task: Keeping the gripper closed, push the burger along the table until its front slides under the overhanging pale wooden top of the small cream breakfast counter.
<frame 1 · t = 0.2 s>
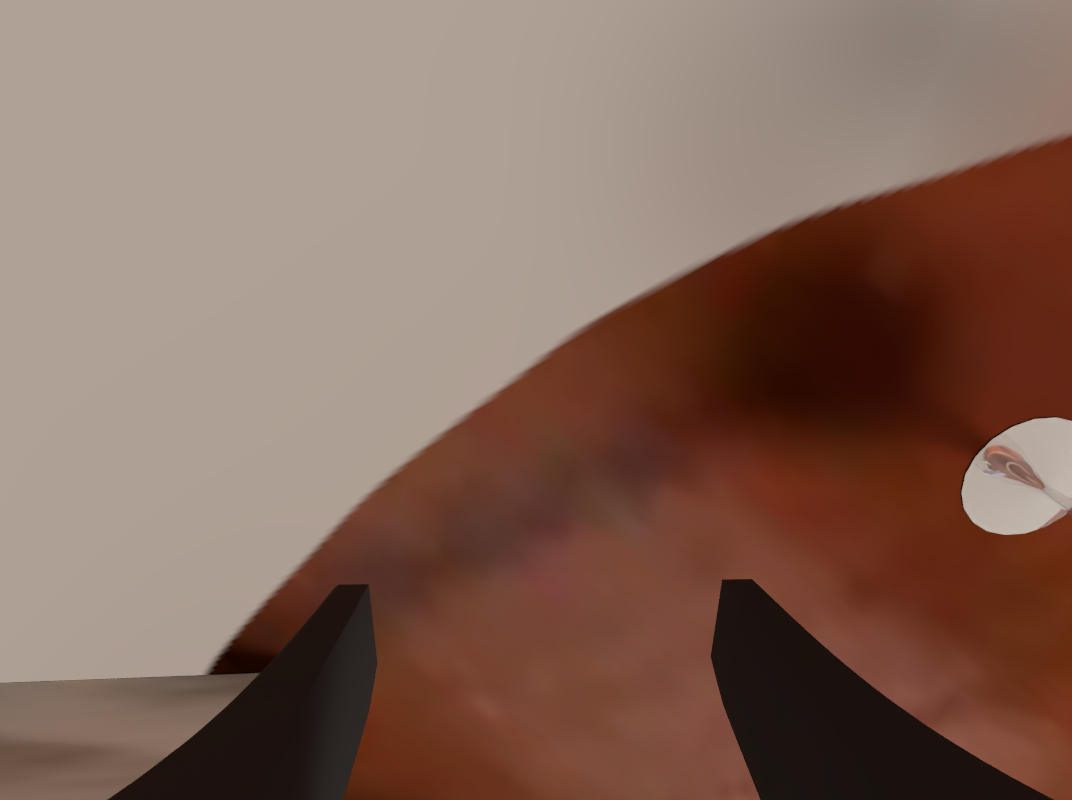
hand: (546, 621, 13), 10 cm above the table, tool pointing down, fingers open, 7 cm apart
wineglass: (1025, 475, 24), on the table
counter: (174, 747, 28), on the table
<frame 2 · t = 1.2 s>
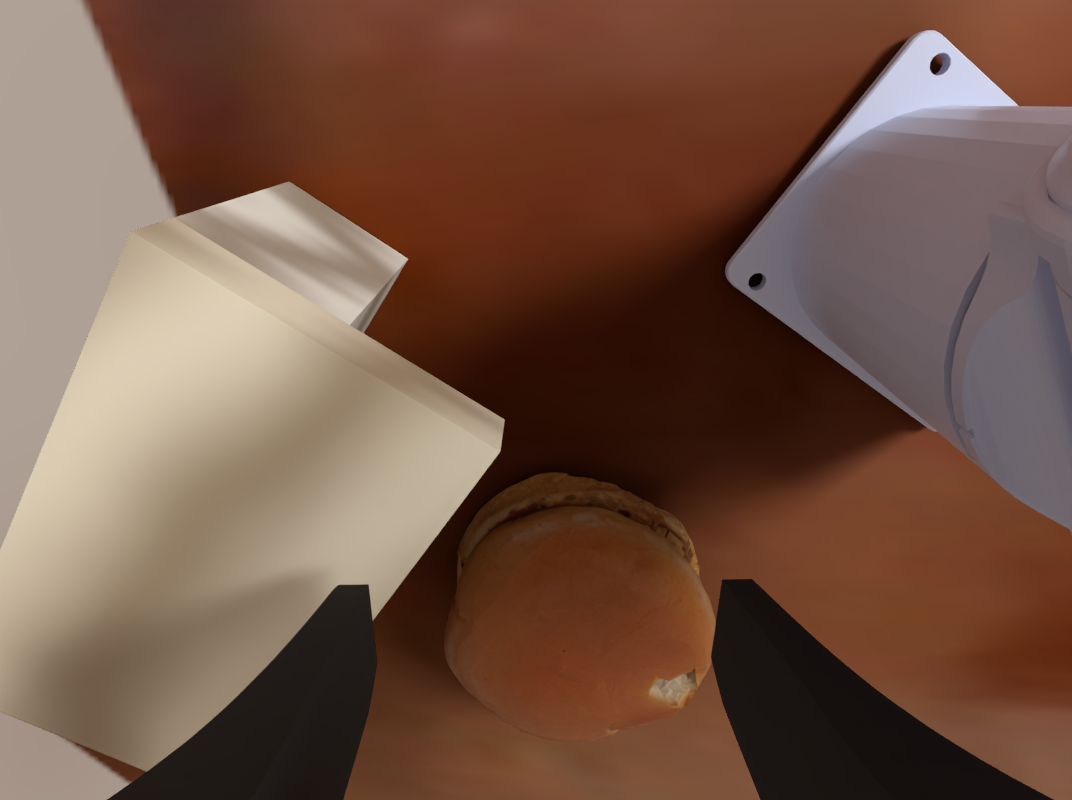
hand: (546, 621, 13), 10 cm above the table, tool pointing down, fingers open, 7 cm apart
burger: (578, 570, 25), on the table
counter: (307, 426, 23), on the table
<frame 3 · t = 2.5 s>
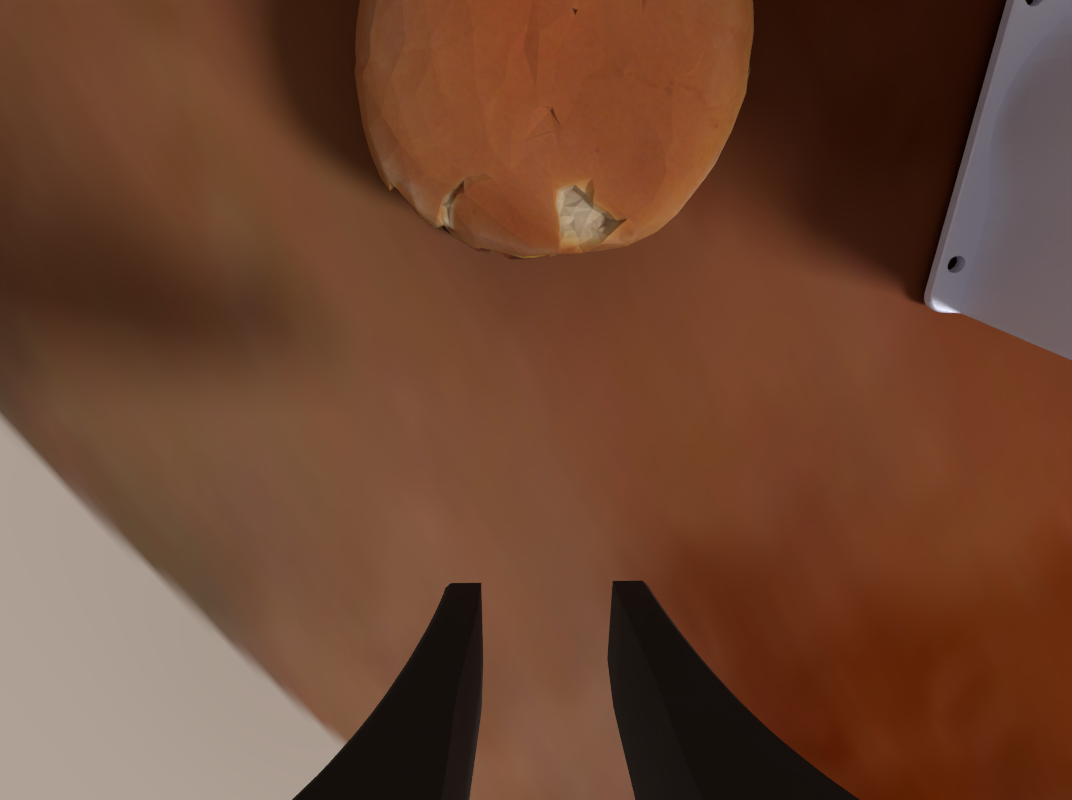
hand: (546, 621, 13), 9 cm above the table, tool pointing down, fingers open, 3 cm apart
burger: (553, 73, 18), on the table
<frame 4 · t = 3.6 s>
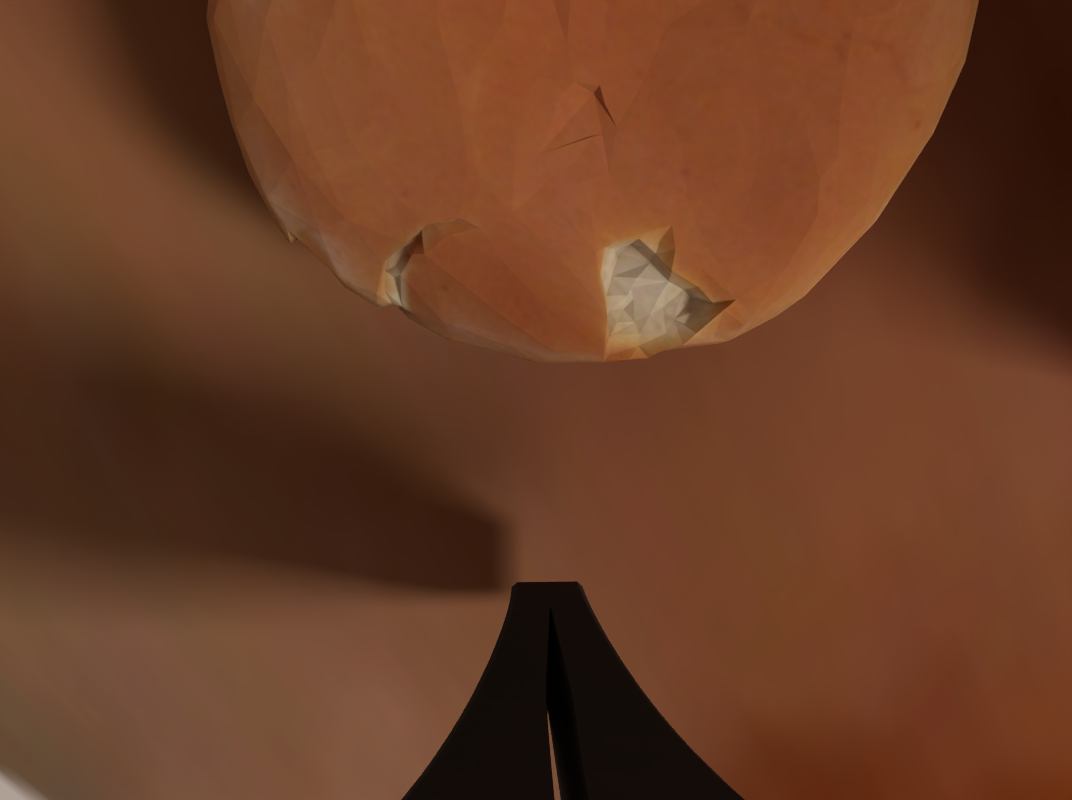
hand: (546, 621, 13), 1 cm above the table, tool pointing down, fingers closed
burger: (584, 37, 11), on the table
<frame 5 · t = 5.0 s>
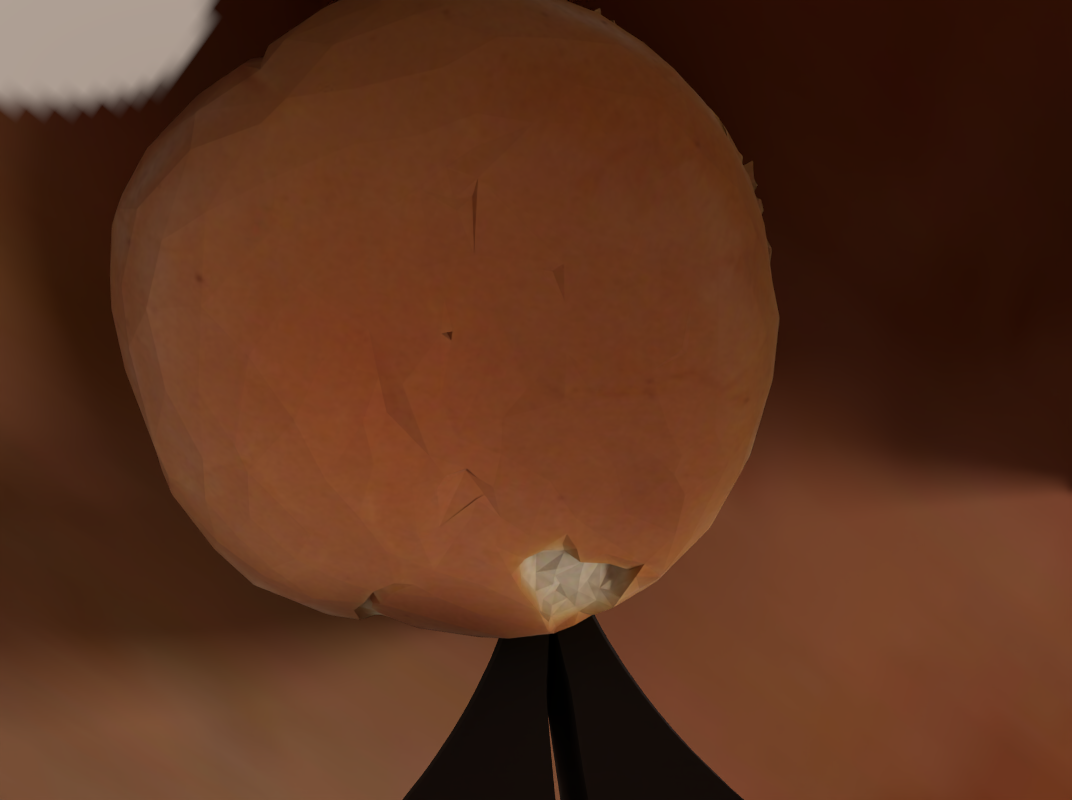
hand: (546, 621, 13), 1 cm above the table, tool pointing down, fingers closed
burger: (479, 306, 12), on the table, touching gripper
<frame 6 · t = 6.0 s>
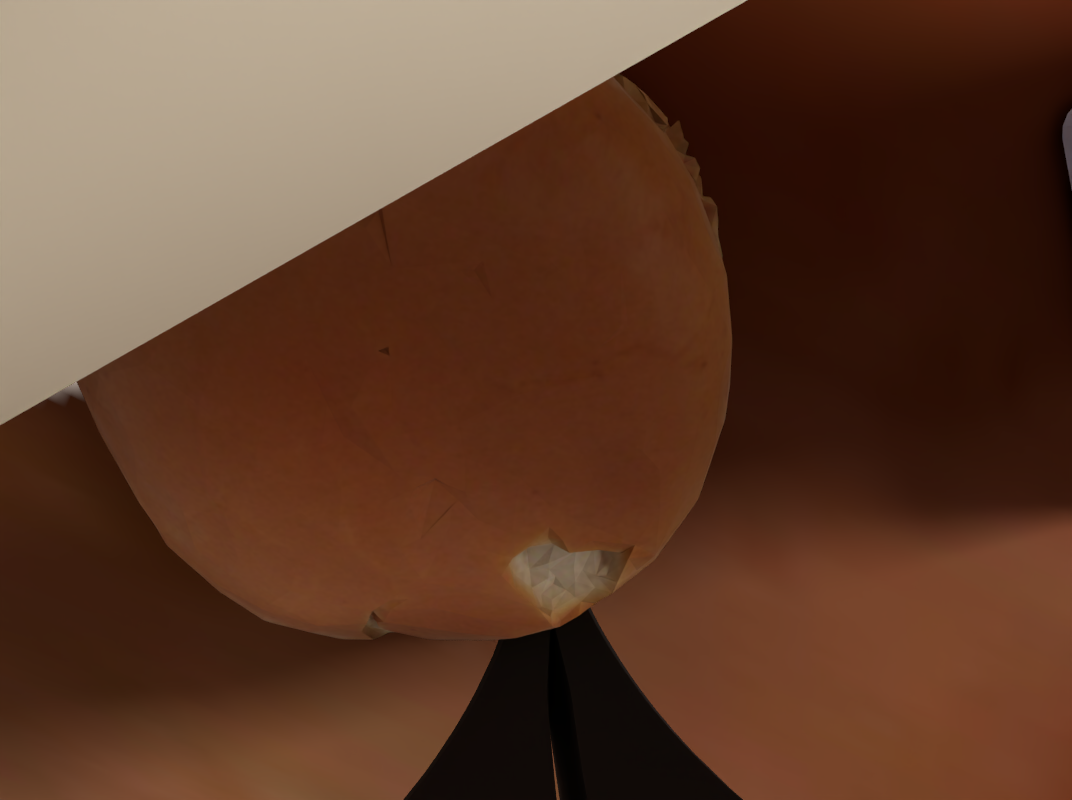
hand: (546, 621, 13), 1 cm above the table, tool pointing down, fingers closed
burger: (447, 314, 12), on the table, touching gripper
counter: (172, 1, 10), on the table
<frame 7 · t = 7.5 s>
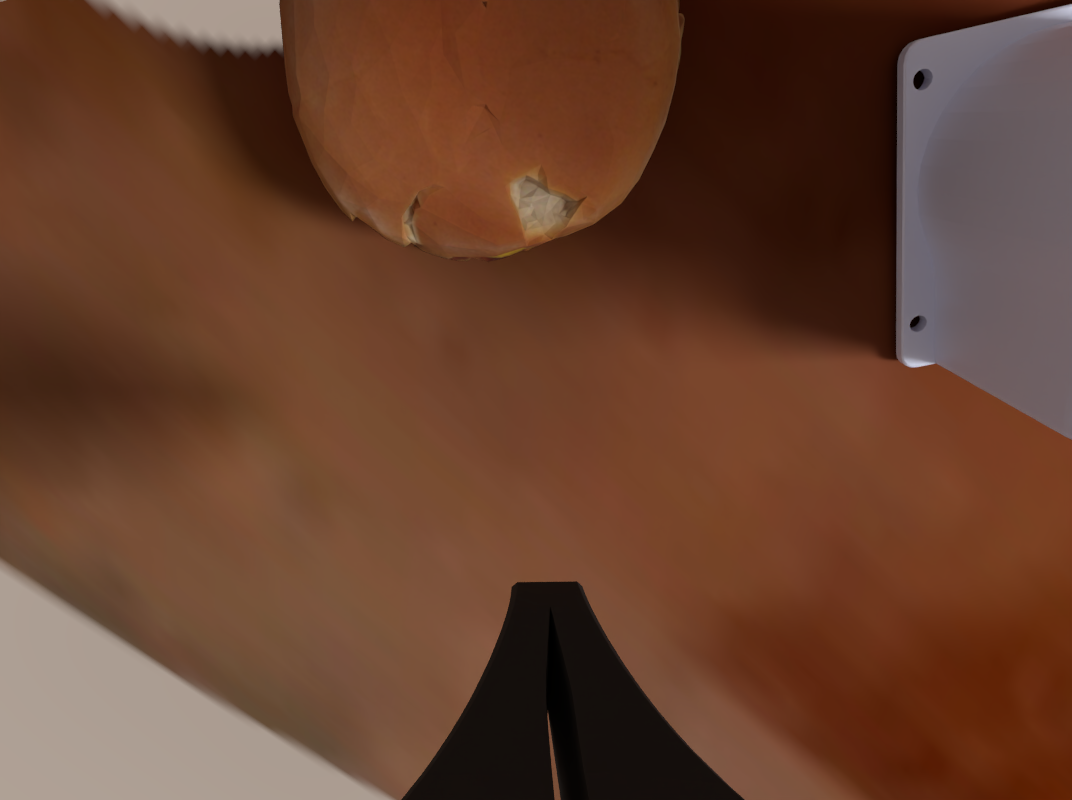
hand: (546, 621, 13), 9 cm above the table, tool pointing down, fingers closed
burger: (493, 69, 18), on the table
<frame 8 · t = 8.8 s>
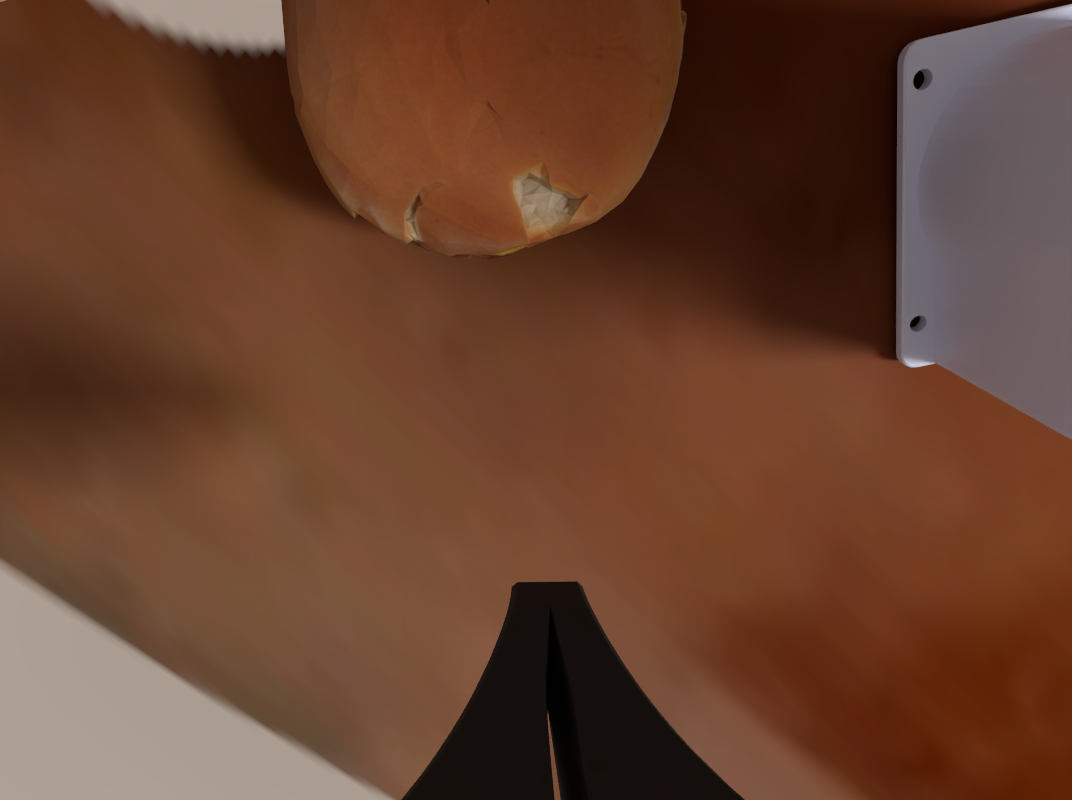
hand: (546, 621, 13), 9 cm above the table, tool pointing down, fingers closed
burger: (495, 67, 18), on the table
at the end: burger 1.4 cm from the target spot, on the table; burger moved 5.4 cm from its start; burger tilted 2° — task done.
